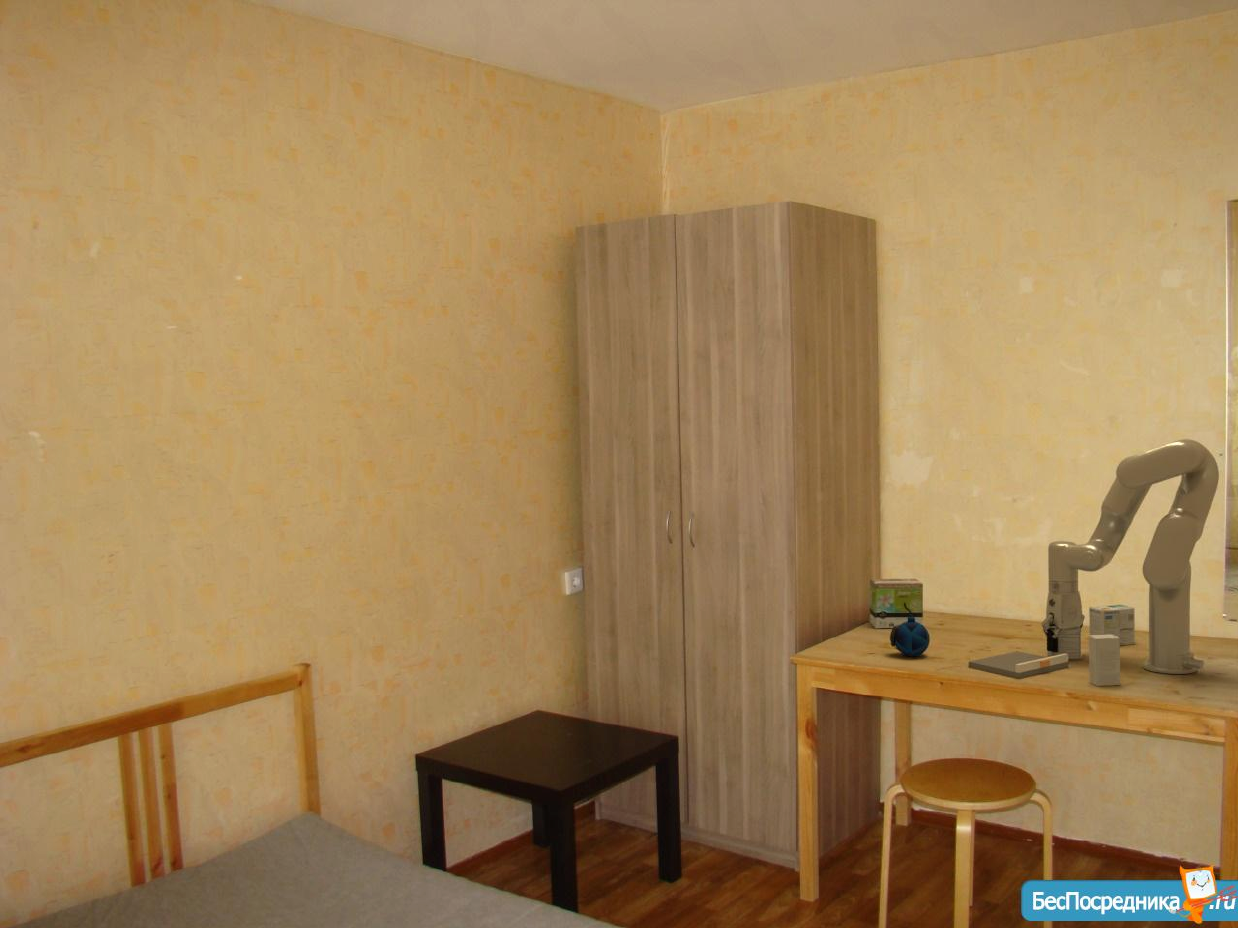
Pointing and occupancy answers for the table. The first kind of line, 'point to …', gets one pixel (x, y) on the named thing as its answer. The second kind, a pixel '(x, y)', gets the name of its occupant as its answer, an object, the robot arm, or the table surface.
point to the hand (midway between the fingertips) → (1063, 648)
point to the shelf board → (1020, 664)
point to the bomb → (910, 637)
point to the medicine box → (1068, 643)
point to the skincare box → (1104, 660)
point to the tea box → (895, 601)
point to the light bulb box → (1113, 622)
